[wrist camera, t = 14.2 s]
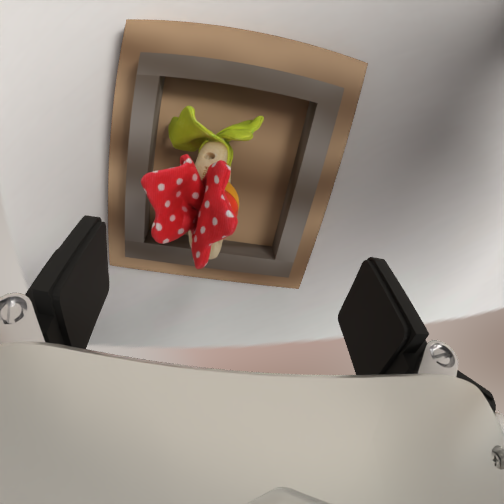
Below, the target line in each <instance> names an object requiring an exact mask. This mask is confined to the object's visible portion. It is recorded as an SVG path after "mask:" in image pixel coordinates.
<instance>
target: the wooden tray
mask: <svg viewBox="0 0 504 504" xmlns="http://www.w3.org/2000/svg"><path fill="white" fill-rule="evenodd" d="M367 65H368V63H365V62H363V61H360V60H357V59H354V58H351V57H348V56H346V55H343V54H340V53H336V52H333V51H330V50H327V49H324V48H320V47H317V46H313V45H310V44H306V43H302V42H299V41H295V40H291V39H287V38H282V37H278V36H274V35H269V34H264V33H259V32H254V31H249V30H243V29H237V28H231V27H224V26H217V25H210V24H201V23H191V22H180V21H165V20H126V25H125V30H124V35H123V41H122V46H121V52H120V58H119V64H118V71H117V78H116V86H115V94H114V103H113V112H112V123H111V136H110V152H109V175H108V236H109V260H110V265H112V266H119V267H126V268H133V269H140V270H147V271H154V272H162V273H169V274H177V275H184V276H192V277H200V278H208V279H216V280H224V281H232V282H241V283H250V284H258V285H267V286H276V287H286V288H295V289H299V287H300V284H301V281H302V278H303V275H304V273H305V270H306V267H307V264H308V261H309V258H310V255H311V253H312V250H313V247H314V244H315V241H316V238H317V235H318V232H319V229H320V226H321V223H322V220H323V217H324V214H325V211H326V208H327V205H328V201H329V198H330V195H331V192H332V189H333V186H334V182H335V179H336V176H337V173H338V169H339V166H340V163H341V159H342V156H343V153H344V149H345V146H346V143H347V139H348V136H349V132H350V129H351V125H352V122H353V118H354V114H355V111H356V107H357V103H358V100H359V96H360V92H361V88H362V85H363V81H364V77H365V73H366V69H367ZM186 106H192V107H193V108H194V109H195V118H196V120H197V121H198V122H199V123H200V124H202V125H203V126H204V127H206V128H207V129H208V130H210V131H212V133H213V134H215V135H216V134H217V133H218V132H220V131H221V130H223V129H225V128H227V127H229V126H231V125H234V124H238V123H240V122H243V121H246V120H254V119H255V118H256V117H258V116H263V117H264V120H263V122H262V124H261V126H260V128H259V129H258V130H256V131H255V132H254V133H253V138H252V139H251V140H249V141H234V140H231V141H230V142H229V144H230V146H231V147H232V149H233V159H232V163H231V181H230V184H231V185H232V186H233V187H234V188H235V190H236V192H237V194H238V198H239V210H238V215H237V219H238V224H237V227H236V229H235V232H234V233H233V234H232V235H230V236H228V237H226V238H224V239H223V242H222V246H221V250H220V252H219V254H218V256H217V257H216V258H214V259H209V260H208V263H207V264H206V266H205V267H203V268H201V269H196V267H195V264H194V260H193V255H192V250H191V246H190V242H189V234H188V232H186V233H185V234H184V235H183V236H181V237H179V238H178V239H176V240H174V241H171V242H169V243H165V244H161V243H158V242H156V241H155V240H154V238H153V237H152V234H151V230H152V225H153V223H154V220H155V210H154V208H153V206H152V205H151V203H150V201H149V199H148V197H147V194H146V193H145V191H144V189H143V187H142V184H141V179H142V177H143V176H144V175H145V174H147V173H149V172H153V171H157V170H163V169H168V168H173V167H178V166H180V157H181V156H182V155H185V154H188V155H189V156H190V158H191V159H192V161H193V162H194V164H195V162H196V160H197V157H198V153H199V149H198V150H196V151H194V152H190V151H183V150H179V149H175V148H174V147H173V145H172V143H171V141H170V138H169V132H168V127H169V124H170V122H171V119H172V118H173V117H179V115H180V113H181V111H182V110H183V109H184V108H185V107H186Z"/></svg>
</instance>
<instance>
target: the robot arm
mask: <svg viewBox="0 0 504 504" xmlns="http://www.w3.org/2000/svg"><path fill="white" fill-rule="evenodd" d="M108 291H109V274H108V260H107V243H106V224H105V222H101V218H100V217H93V216H84V217H83V218H82V219H81V220H80V222H79V223H78V224H77V225H76V227H75V228H74V229H73V231H72V232H71V233H70V234H69V236H68V237H67V238H66V240H65V241H64V242H63V244H62V245H61V246H60V248H59V249H57V250H56V251H55V252H54V254H53V255H52V256H51V258H50V259H49V261H48V262H47V263H46V265H45V266H44V268H43V269H42V270H41V272H40V273H39V275H38V276H37V278H36V279H35V281H34V282H33V284H32V285H31V287H30V288H29V290H28V291H27V293H26V294H25V295H24V294H21V293H10V294H6V295H4V296H2V297H0V504H504V416H503V414H502V413H501V412H500V411H499V410H498V411H497V412H495V410H496V405H495V401H494V398H493V396H492V394H491V393H490V392H489V391H488V390H486V389H485V388H483V387H482V386H480V385H479V384H477V383H476V382H474V381H473V380H472V379H470V378H469V377H467V376H466V375H464V374H463V373H461V372H460V371H458V358H457V355H456V354H455V352H454V351H453V350H452V349H451V348H450V347H449V346H448V345H447V344H445V343H443V342H441V341H437V340H432V341H430V342H428V343H427V342H426V340H425V339H426V338H427V337H428V335H429V333H428V331H427V329H426V327H425V326H424V324H423V322H422V320H421V319H420V317H419V315H418V313H417V312H416V310H415V308H414V307H413V305H412V303H411V301H410V300H409V298H408V296H407V295H406V293H405V291H404V290H403V288H402V287H401V285H400V283H399V282H398V280H397V278H396V277H395V275H394V274H393V272H392V271H391V269H390V267H389V266H388V264H387V263H386V261H385V260H384V259H379V258H373V257H370V258H368V259H367V260H365V261H364V262H363V263H362V265H361V267H360V269H359V272H358V274H357V276H356V278H355V280H354V283H353V285H352V287H351V289H350V291H349V293H348V295H347V297H346V299H345V301H344V304H343V306H342V308H341V310H340V312H339V315H338V321H339V325H340V328H341V330H342V333H343V336H344V339H345V342H346V345H347V348H348V351H349V354H350V357H351V360H352V363H353V366H354V369H355V372H356V375H301V374H300V375H299V374H277V373H260V372H246V371H233V370H223V369H212V368H202V367H194V366H186V365H178V364H170V363H163V362H157V361H150V360H144V359H138V358H132V357H126V356H119V355H114V354H108V353H103V352H97V351H92V350H87V349H86V347H87V344H88V342H89V339H90V336H91V334H92V331H93V329H94V326H95V323H96V321H97V318H98V316H99V313H100V311H101V309H102V306H103V304H104V301H105V299H106V297H107V294H108Z"/></svg>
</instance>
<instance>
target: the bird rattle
mask: <svg viewBox="0 0 504 504" xmlns="http://www.w3.org/2000/svg"><path fill="white" fill-rule="evenodd" d="M263 120H264V117H263V116H258V117H256V118H255V119H254V120H246V121H243V122H240V123H238V124H234V125H231V126H229V127H227V128H225V129H223V130H221V131H220V132H218V133H217V134H216V135H215V134H213V133H212V131H210V130H208V129H207V128H206V127H204V126H203V125H202V124H200V123H199V122H198V121H197V120H196V118H195V109H194V108H193V107H192V106H186V107H185V108H184V109H183V110H182V111H181V113H180V115H179V117H173V118H172V119H171V122H170V124H169V127H168V132H169V138H170V141H171V143H172V145H173V147H174V148H175V149H179V150H183V151H190V152H194V151H196V150H198V149H199V153H198V157H197V160H196V162H195V164H194V162H193V161H192V159H191V158H190V156H189V155H188V154H185V155H182V156H181V157H180V166H178V167H173V168H168V169H163V170H157V171H153V172H149V173H147V174H145V175H144V176H143V177H142V179H141V184H142V187H143V189H144V191H145V193H146V194H147V197H148V199H149V201H150V203H151V205H152V206H153V208H154V210H155V220H154V223H153V225H152V230H151V234H152V237H153V238H154V240H155V241H156V242H158V243H161V244H165V243H169V242H171V241H174V240H176V239H178V238H179V237H181V236H183V235H184V234H185V233H186V232H188V234H189V242H190V246H191V250H192V255H193V260H194V264H195V267H196V269H201V268H203V267H205V266H206V264H207V263H208V260H209V259H214V258H216V257H217V256H218V254H219V252H220V250H221V246H222V242H223V239H224V238H226V237H228V236H230V235H232V234H233V233H234V232H235V229H236V227H237V224H238V219H237V215H238V210H239V198H238V194H237V192H236V190H235V188H234V187H233V186H232V185H231V184H230V181H231V163H232V159H233V149H232V147H231V146H230V144H229V142H230V141H231V140H234V141H249V140H251V139H252V138H253V133H254V132H255V131H256V130H258V129H259V128H260V126H261V124H262V122H263Z"/></svg>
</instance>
